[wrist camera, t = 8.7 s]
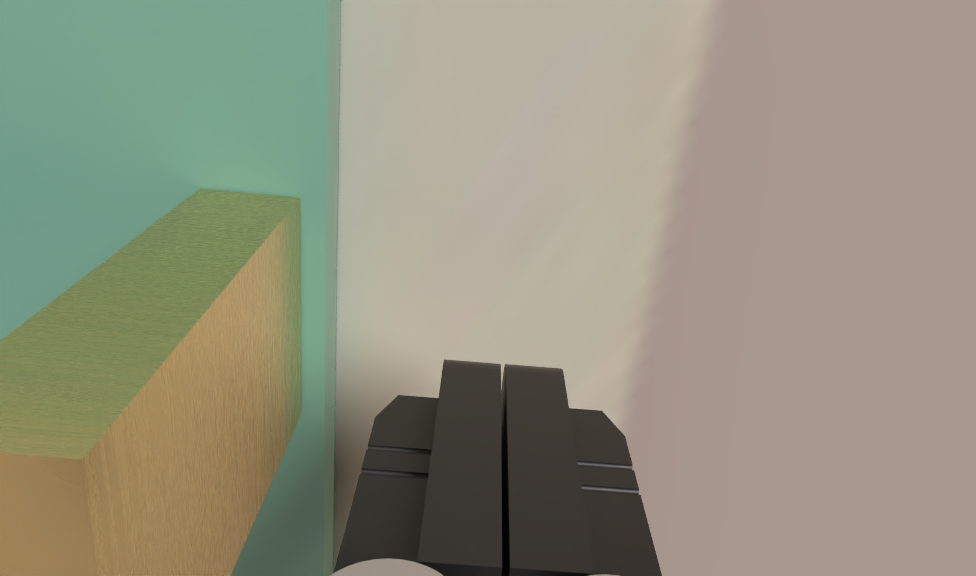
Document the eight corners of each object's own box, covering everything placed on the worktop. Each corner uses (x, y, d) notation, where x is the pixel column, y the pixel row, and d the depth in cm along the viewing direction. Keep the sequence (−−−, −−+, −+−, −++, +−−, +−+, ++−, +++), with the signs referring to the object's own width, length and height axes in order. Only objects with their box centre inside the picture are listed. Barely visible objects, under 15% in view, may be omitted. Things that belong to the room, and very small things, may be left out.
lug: (7, 171, 12) (-542, 407, 6) (300, 197, 12) (81, 459, 6) (42, 390, 14) (-358, 769, 7) (301, 412, 14) (131, 803, 7)
